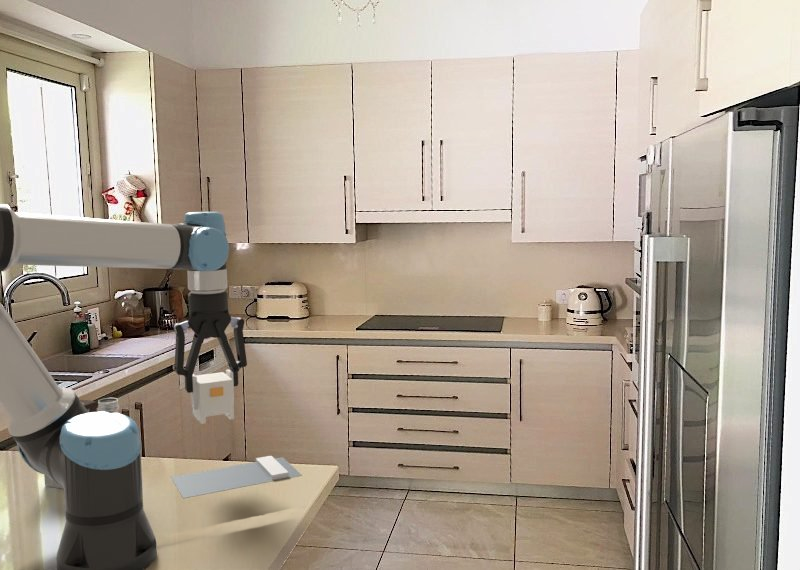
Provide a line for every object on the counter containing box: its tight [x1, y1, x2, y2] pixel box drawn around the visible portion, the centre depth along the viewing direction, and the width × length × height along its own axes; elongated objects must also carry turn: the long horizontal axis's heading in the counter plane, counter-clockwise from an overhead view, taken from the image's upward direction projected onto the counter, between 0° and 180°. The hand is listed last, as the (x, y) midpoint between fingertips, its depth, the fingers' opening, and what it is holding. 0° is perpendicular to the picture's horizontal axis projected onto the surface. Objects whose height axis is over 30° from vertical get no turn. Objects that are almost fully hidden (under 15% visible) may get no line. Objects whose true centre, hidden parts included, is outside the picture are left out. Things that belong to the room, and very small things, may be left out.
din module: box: [192, 371, 235, 425], centre depth 149 cm, size 7×6×8 cm
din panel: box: [170, 455, 303, 499], centre depth 153 cm, size 12×24×2 cm, turn 118°
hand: (212, 404), depth 150 cm, fingers closed on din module, 6 cm apart
